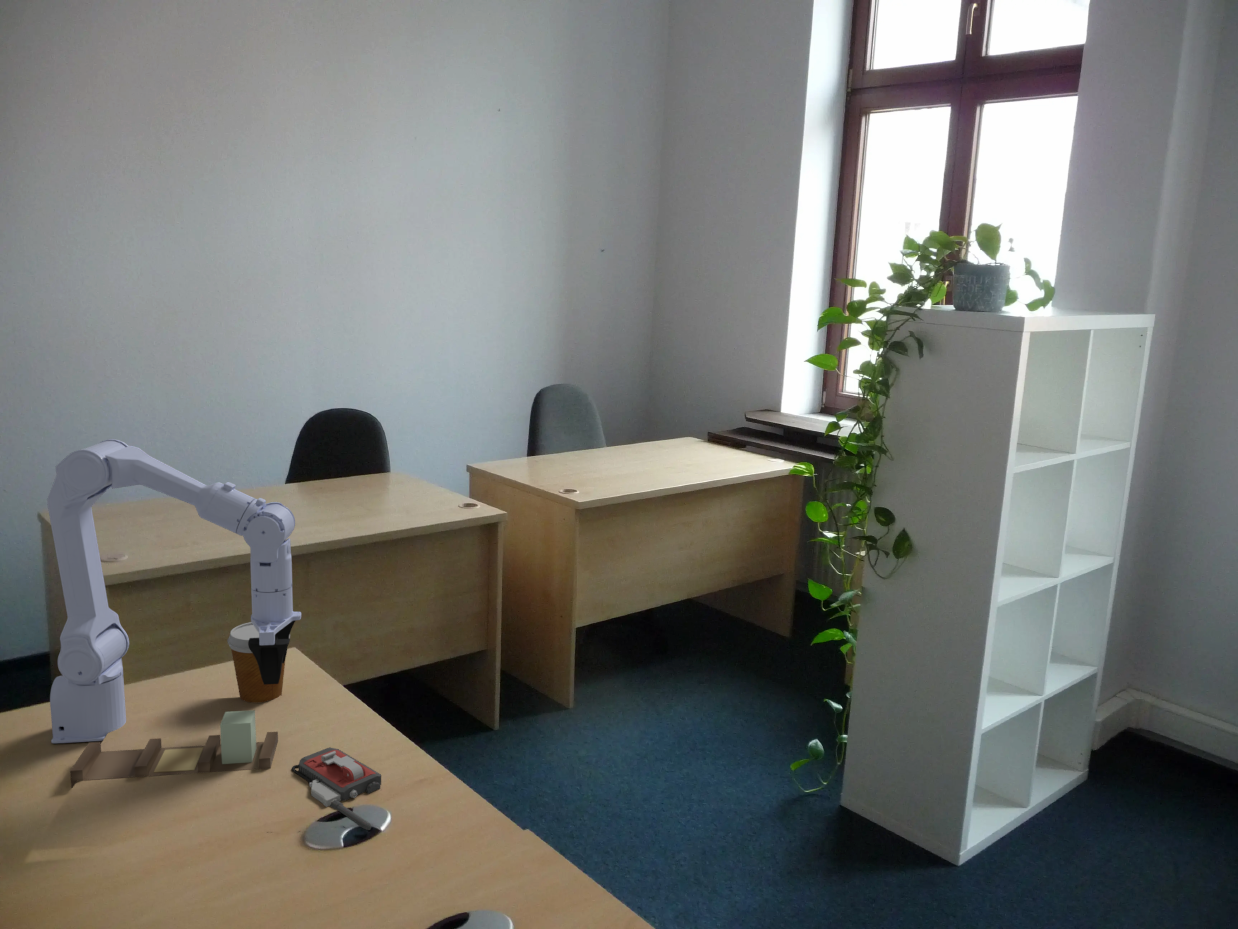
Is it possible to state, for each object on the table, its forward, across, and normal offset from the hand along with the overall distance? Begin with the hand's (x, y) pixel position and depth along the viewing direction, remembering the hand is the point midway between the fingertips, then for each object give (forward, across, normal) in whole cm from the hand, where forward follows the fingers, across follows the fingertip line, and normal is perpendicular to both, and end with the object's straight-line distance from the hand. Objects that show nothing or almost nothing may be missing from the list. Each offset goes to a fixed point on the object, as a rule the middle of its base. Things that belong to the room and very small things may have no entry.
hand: (274, 672), depth 146 cm
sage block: (+9, -9, +4) cm, 13 cm away
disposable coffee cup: (+10, +12, +4) cm, 16 cm away
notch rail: (+10, -8, +12) cm, 18 cm away
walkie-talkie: (+10, -20, -11) cm, 25 cm away
